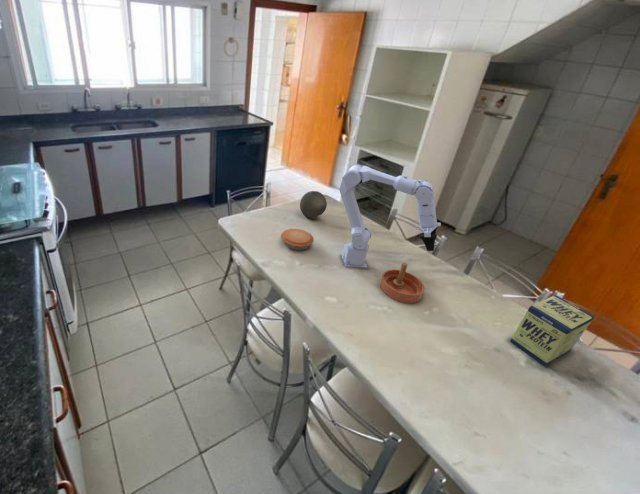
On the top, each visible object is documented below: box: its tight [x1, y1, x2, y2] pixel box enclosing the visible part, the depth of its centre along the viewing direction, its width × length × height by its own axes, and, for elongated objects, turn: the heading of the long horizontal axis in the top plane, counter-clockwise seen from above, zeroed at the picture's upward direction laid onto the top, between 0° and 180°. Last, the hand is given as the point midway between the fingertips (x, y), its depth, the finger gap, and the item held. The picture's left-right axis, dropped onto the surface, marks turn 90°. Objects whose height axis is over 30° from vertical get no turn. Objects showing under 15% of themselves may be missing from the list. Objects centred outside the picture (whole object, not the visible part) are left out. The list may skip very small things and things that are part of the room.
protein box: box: [509, 294, 596, 367], centre depth 105 cm, size 10×16×16 cm
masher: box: [393, 262, 409, 289], centre depth 129 cm, size 4×4×10 cm
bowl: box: [379, 269, 426, 304], centre depth 129 cm, size 15×15×4 cm
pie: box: [280, 228, 314, 251], centre depth 155 cm, size 15×16×5 cm
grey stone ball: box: [299, 190, 328, 219], centre depth 178 cm, size 14×14×15 cm
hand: (431, 245), depth 126 cm, fingers open, 7 cm apart
